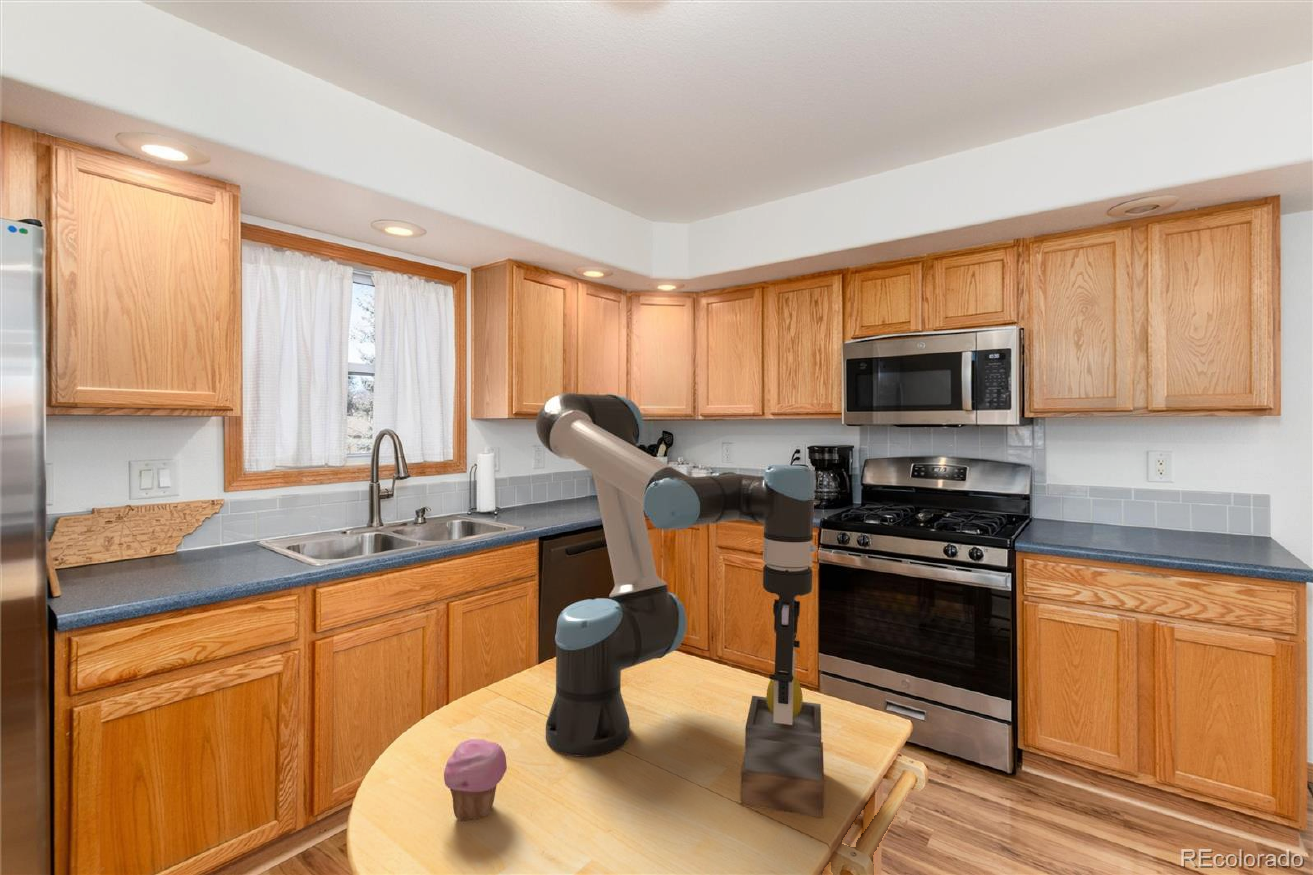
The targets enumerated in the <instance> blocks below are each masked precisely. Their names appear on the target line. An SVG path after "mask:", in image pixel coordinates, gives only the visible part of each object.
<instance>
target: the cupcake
mask: <svg viewBox="0 0 1313 875" xmlns="http://www.w3.org/2000/svg"><path fill="white" fill-rule="evenodd" d="M507 769H508V766H507V757H506V752H505V751H504V749H503V747H502V746H501V745H500V744H499V743H497V742H494V741H490V740H489V741H488V740H486V739H483V738H472V739H468V740H465V741H462V742H460V743H459V744H458V745H457V746H456V747H455V750H453V752H452V754H451V755H450V756H449V757H448V759H447V762H446V764H445V767H444V772H443V780H444V785H445V786H446V787H447V788H448V789H449V791H450V793H451V797H452V806H453V807H452V808H453V814H454V817H455V818H456V819H458V820H459V821H468V819H470V820H474V818H475V819H480V818H483V817H485V816H487V815H488V814H489V813H490V812H491V811H492V808H493V806H494V801H495V796H496V790H497V785H498V784H499V783H500V782H501V781H502V780H503V777H504V775H505V774H506V772H507Z"/></svg>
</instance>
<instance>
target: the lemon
mask: <svg viewBox="0 0 1313 875" xmlns="http://www.w3.org/2000/svg"><path fill="white" fill-rule="evenodd" d="M783 672H784V671H783ZM787 673H788V672H787ZM765 697H766V698H767V705H768V708H769V710H770V712H771V713H772V715H773V716H774V680H771V679H769V682H768V684H767V688H766V696H765ZM802 702H804V700H803V690H802V687H801V684H800V682H799V681H798V679H797V678H796V676H795V677H794V676H793V719H794V718H795V717H796V716H797V715H798V714H799V712H800V710H801V707H802Z"/></svg>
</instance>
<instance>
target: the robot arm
mask: <svg viewBox="0 0 1313 875" xmlns="http://www.w3.org/2000/svg"><path fill="white" fill-rule="evenodd" d="M536 416H537V417H536V422H535V428H536V433H537V437H538V439H539V441H540V442H541V444H542V445H543V446H544V447H545V448H546V449H547V450H548V451H549V452H550V453H553V455H555V456H557V457H559V458H561V459H564V460H571V459H572V460H574V461H575V462H576V463H577V464H580V465H581V466H583V467H584V468H586V469H587V470H589V471H591V472H592V476H593V481H594V487H595V491H596V496H597V500H598V507H599V511H600V517H601V521H602V526H603V532H604V536H605V541H606V546H607V552H608V556H609V561H610V566H611V571H612V576H613V582H614V586H613V589H612V591H611V592H610V593H609V598H604V597H603V598H602V597H601V598H600V597H599V598H598V597H596V598H595V599H591V598H590V599H584V600H579V601H577V602H574V603H572V604H570V605H568V606H566V607H565V608H564V609H563V610H562V611H561V612H560V613H559V616H558V617H557V621H556V622H557V623H556V633H555V637H554V640H555V644H556V645H555V646H556V649H555V653H556V654H555V656H556V657H555V695H554V698H553V701H552V704H551V707H550V711H549V714H548V716H547V718H546V722H545V741H546V743H547V745H548V746H549V747H550V748H551V749H553V750H554V751H556V752H558V753H561V754H565V755H569V756H575V757H593V756H594V757H595V756H601V755H605V754H608V753H611V752H613V751H616V750H618V749H619V748H621V747H622V746H624V745H625V744H626V743H627V742H628V740H629V739H630V738H629V737H630V733H631V732H630V731H631V730H630V729H631V727H630V726H631V722H630V717H629V715H628V711H627V708H626V704H625V702H624V699H623V696H622V692H621V691H622V690H621V681H622V680H621V678H622V674H621V673H622V672H621V671H623V670H625V669H628V668H632V667H635V666H637V665H640V664H643V663H646V662H650V661H652V660H655V659H661V658H663V657H665V656H667V655H669V654H670V653H673V652H675V651H676V650H678V649H679V647H680V646H681V645H682V642H683V640H684V639H685V637H686V633H687V627H688V622H687V621H688V618H687V613H686V609H685V607H684V605H683V602H682V601H681V600H679V597H678V596H677V595H676V594H675V593H672V592H669V588H668V584H667V582H666V581H665V580H663V579H661V578H660V577H659V575H658V573H657V569H656V565H655V559H654V555H653V551H652V545H651V541H650V537H649V532H648V528H647V527H648V525H647V522H646V516H647V518H648V519H649V523H650V524H651V525H653V527H655V528H656V529H659V530H665V531H666V530H674V531H675V530H677V531H679V530H680V531H681V530H684V529H688V528H692V527H699V526H704V525H710V524H711V525H712V524H718V523H724V522H725V523H726V522H731V521H746V522H754V523H759V524H763V537H762V561H763V563H765V564H764V566H763V567H762V589H764V590H765V592H768V593H769V594H774V595H777V596H778V599H777V598H774V603H773V604H772V605H773V607H772V608H773V609H772V612H773V613H772V614H773V616H774V622H773V631H774V633H775V657H774V673H773V674H772V673H769V680H774V718H773V722H774V723H781V724H789V725H792V721H793V676H794V677H795V678H796V655H797V654H796V649H797V648H798V649H799V648H800V644H801V643H800V640H796V638H797V634H798V623H799V618H800V611H801V601H800V600H797V598H796V597H797V596H800V597H801V596H805V595H808V594H810V593H811V592H812V591H813V569H812V567H810V566H812V564H813V553H814V552H815V553H816V552H817V551H818V547H817V545H813V543H814V541H813V540H814V533H813V531H814V530H813V529H814V510H815V508H814V507H815V498H816V493H815V480H814V479H815V476H814V471H813V470H812V469H811V468H810V467H808V466H805V465H795V464H793V465H791V464H772V465H771V464H770V465H768V466H767V467H765V470H764V475H761V476H759V475H751V474H743V473H736V472H731V471H728V472H727V471H726V472H724V471H723V472H713V473H712V474H710V475H706V476H689V475H687V474H685V473H683V472H681V471H680V470H678V469H675V467H673V466H671V465H669V464H667V463H666V462H663V461H662V460H660V459H658V458H656V457H654V456H652V455H651V454H649V453H647V452H645V451H644V450H641V448H638V447H639V445H640V444H641V442H642V440H643V437H644V436H643V435H642V434H643V433H644V432H645V423H644V419H643V418H644V417H643V415H642V412H641V410H640V409H639V407H638V405H637V404H636V403H635V402H634V401H633V400H632V399H630V398H628V397H625V396H621V395H616V394H611V393H608V394H596V393H595V394H592V393H591V394H590V393H573V392H572V393H571V392H568V393H561V394H558V395H555V396H553V397H551V398H550V399H548V400H547V401H546V402H545V403H543V405H542V406H541V408H540V410H539V412H538V413H537V415H536ZM783 671H784V672H783ZM787 672H788V673H787Z"/></svg>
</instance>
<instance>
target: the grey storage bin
mask: <svg viewBox="0 0 1313 875" xmlns="http://www.w3.org/2000/svg"><path fill="white" fill-rule="evenodd" d="M821 706H822V705H821V703H818V702H817V703H816V702H810V701H809V702H808V701H803V702H802V707H801V710H800V712H799V714H798V715H797V716H796V717H795V718H794V719H793V721H792V725H789V724H781V723H774V722H773V718H774V716H773V715H772V713H771V712H770V710H769V708H768V705H767V698H766V696H760V695H759V696H758V695H751V700H750V704H749V710H748V712H747V713H748V714H747V718H746V724H745V728H744V730H745V732H744V733H745V734H744V754H743V759H742V764H741V770H740V789H739V790H740V794H739V795H740V798H739V799H740V800H739V801H740V802H739V803H740V805H743V806H744V805H745V806H749V807H750V806H751V807H756V808H761V809H762V808H763V809H769V810H774V811H780V812H786V813H794V814H799V815H804V816H805V815H806V816H809V817H811V816H812V817H817V818H822V819H823V818H824V805H825V804H824V803H825V800H824V799H825V769H824V766H825V765H824V742H822V738H823V737H822V710H821V709H822V707H821Z"/></svg>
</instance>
